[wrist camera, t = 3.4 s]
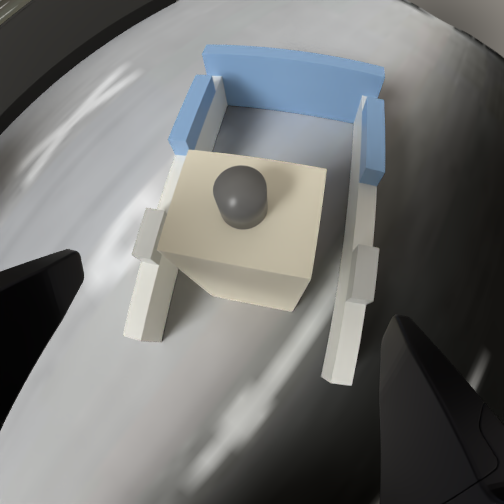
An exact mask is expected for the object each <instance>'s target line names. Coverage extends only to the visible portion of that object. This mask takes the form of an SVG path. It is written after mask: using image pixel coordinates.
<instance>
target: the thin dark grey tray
mask: <svg viewBox="0 0 504 504" xmlns="http://www.w3.org/2000/svg"><path fill="white" fill-rule="evenodd" d="M175 2H176V0H32V1H30V2H29V3H28V4H26V5H25V6H24V7H22V8H21V9H20V10H18V11H17V12H16V13H15V14H13V15H12V16H11V17H10V18H8V19H7V20H6V21H5V22H4V23H2V24H1V25H0V135H1V134H2V133H3V131H4V130H5V129H6V128H7V127H8V126H9V125H10V124H11V123H12V122H13V121H14V120H15V119H16V118H17V117H18V116H19V115H20V114H21V113H22V112H23V111H24V110H25V109H26V108H27V107H28V106H29V105H30V104H31V103H32V102H34V101H35V100H36V99H37V98H38V97H39V96H40V95H41V94H42V93H43V92H45V91H46V90H47V89H48V88H49V87H50V86H51V85H53V84H54V83H55V82H56V81H57V80H58V79H60V78H61V77H62V76H63V75H65V74H66V73H67V72H68V71H70V70H71V69H72V68H73V67H75V66H76V65H77V64H78V63H80V62H81V61H82V60H84V59H85V58H86V57H88V56H89V55H91V54H92V53H93V52H95V51H96V50H97V49H99V48H100V47H102V46H103V45H105V44H106V43H108V42H109V41H111V40H112V39H114V38H115V37H117V36H118V35H120V34H121V33H123V32H124V31H126V30H127V29H129V28H131V27H132V26H134V25H136V24H137V23H139V22H141V21H142V20H144V19H146V18H148V17H149V16H151V15H153V14H155V13H156V12H158V11H160V10H162V9H164V8H166V7H168V6H169V5H171V4H173V3H175Z"/></svg>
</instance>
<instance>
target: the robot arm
mask: <svg viewBox="0 0 504 504" xmlns="http://www.w3.org/2000/svg"><path fill="white" fill-rule="evenodd" d="M83 280H84V271H83V267H82V261H81V256H80V254H79V252H77V251H74V250H70V249H66V250H63V251H60V252H56V253H53V254H50V255H47V256H44V257H41V258H38V259H35V260H32V261H29V262H26V263H24V264H21V265H18V266H15V267H12V268H9V269H6V270H4V271H1V272H0V431H1V428H2V426H3V424H4V422H5V420H6V418H7V416H8V414H9V412H10V410H11V408H12V406H13V404H14V402H15V400H16V398H17V396H18V394H19V393H20V391H21V389H22V387H23V385H24V383H25V382H26V380H27V378H28V376H29V374H30V373H31V371H32V369H33V367H34V366H35V364H36V362H37V361H38V359H39V357H40V355H41V354H42V352H43V350H44V349H45V347H46V346H47V344H48V342H49V341H50V339H51V337H52V336H53V334H54V333H55V331H56V329H57V328H58V326H59V325H60V323H61V321H62V320H63V318H64V316H65V314H66V312H67V310H68V309H69V307H70V305H71V303H72V301H73V299H74V297H75V295H76V294H77V292H78V290H79V288H80V286H81V285H82V283H83ZM379 405H380V432H381V482H380V504H504V425H503V424H502V423H501V422H500V421H499V419H498V418H497V417H496V416H495V415H494V413H493V412H492V411H491V410H490V408H489V407H488V406H487V405H486V404H485V403H484V404H483V400H482V399H481V398H480V396H479V395H478V394H477V393H476V392H475V390H474V389H473V388H472V387H471V386H470V384H469V383H468V382H467V381H466V380H465V379H464V377H463V376H462V375H461V374H460V373H459V372H458V371H457V369H456V368H455V367H454V366H453V365H452V364H451V363H450V361H449V360H448V359H447V358H446V357H445V356H444V355H443V354H442V352H441V351H440V350H439V349H438V348H437V347H436V346H435V345H434V344H433V342H432V341H431V340H430V339H429V338H428V337H427V336H426V335H425V334H424V333H423V331H422V330H421V329H420V328H419V327H418V326H417V325H416V324H415V323H414V322H413V321H412V320H411V319H410V318H409V317H408V316H402V315H394V316H393V317H392V319H391V321H390V323H389V325H388V327H387V330H386V332H385V334H384V336H383V339H382V343H381V366H380V386H379Z"/></svg>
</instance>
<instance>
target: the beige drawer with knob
mask: <svg viewBox="0 0 504 504" xmlns="http://www.w3.org/2000/svg"><path fill="white" fill-rule="evenodd" d="M326 172H327V169H324V168H319V167H313V166H307V165H302V164H296V163H290V162H283V161H277V160H270V159H263V158H256V157H249V156H242V155H234V154H226V153H217V152H208V151H198V150H188V152H187V155H186V158H185V161H184V164H183V167H182V170H181V173H180V176H179V179H178V182H177V185H176V188H175V191H174V194H173V197H172V200H171V203H170V206H169V210H168V213H167V216H166V219H165V223H164V226H163V229H162V233H161V236H160V240H159V243H158V247H157V251H158V252H160V253H161V254H162V255H163V256H164V257H165V258H167V259H168V260H169V261H170V262H171V263H173V264H174V265H175V266H176V267H177V268H178V269H180V270H181V271H182V272H183V273H184V274H186V275H187V276H188V277H189V278H191V279H192V280H193V281H194V282H195V283H197V284H198V285H199V286H200V287H202V288H203V289H204V290H205V291H206V292H208V293H209V294H210V295H211V296H214V297H219V298H224V299H229V300H234V301H239V302H244V303H249V304H254V305H259V306H264V307H269V308H274V309H280V310H285V311H290V312H292V311H293V310H294V308H295V306H296V305H297V303H298V301H299V299H300V298H301V296H302V294H303V292H304V291H305V289H306V287H307V285H308V284H309V282H310V280H311V276H312V270H313V264H314V258H315V251H316V245H317V238H318V232H319V225H320V218H321V211H322V203H323V196H324V188H325V180H326Z"/></svg>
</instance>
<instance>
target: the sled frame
mask: <svg viewBox="0 0 504 504" xmlns="http://www.w3.org/2000/svg"><path fill="white" fill-rule="evenodd" d="M202 56H203V60H204V64H205V68H206V72H207V75H196V76H195V78H194V80H193V82H192V85H191V87H190V89H189V91H188V93H187V96H186V98H185V100H184V102H183V105H182V107H181V109H180V112H179V114H178V116H177V119H176V121H175V124H174V126H173V128H172V131H171V133H170V136H169V138H168V141H169V143H170V145H171V147H172V149H173V151H174V153H175V157H174V160H173V163H172V166H171V169H170V171H169V174H168V177H167V180H166V183H165V186H164V189H163V192H162V195H161V198H160V201H159V204H158V207H157V209H151V208H146V210H145V213H144V216H143V219H142V222H141V225H140V229H139V232H138V235H137V239H136V242H135V245H134V249H133V252H132V256H134V257H135V258H137V259H138V260H140V261H141V264H140V268H139V271H138V275H137V279H136V283H135V287H134V291H133V295H132V299H131V303H130V307H129V311H128V315H127V320H126V324H125V328H124V333H123V336H126V337H129V338H132V339H135V340H138V341H146V342H161V341H162V336H163V332H164V327H165V323H166V319H167V314H168V310H169V306H170V302H171V297H172V293H173V289H174V285H175V281H176V277H177V273H178V268H177V267H176V266H175V265H174V264H173V263H171V262H170V261H169V260H168V259H167V258H165V257H164V256H163V255H162V254H161V253H160V252H158V251H157V247H158V243H159V240H160V236H161V233H162V229H163V226H164V223H165V219H166V216H167V213H168V210H169V206H170V203H171V200H172V197H173V194H174V191H175V188H176V185H177V182H178V179H179V176H180V173H181V170H182V167H183V164H184V161H185V158H186V155H187V152H188V150H198V151H208V152H212V151H213V147H214V144H215V141H216V138H217V135H218V132H219V129H220V126H221V123H222V120H223V117H224V114H225V111H226V108H227V105H232V106H242V107H252V108H261V109H269V110H277V111H285V112H291V113H298V114H305V115H311V116H317V117H322V118H328V119H333V120H338V121H343V122H348V123H353V143H352V159H351V172H350V184H349V195H348V206H347V215H346V225H345V233H344V242H343V250H342V257H341V265H340V272H339V279H338V286H337V292H336V298H335V305H334V311H333V317H332V322H331V328H330V334H329V339H328V344H327V350H326V355H325V360H324V365H323V370H322V374H321V377H322V378H324V379H325V380H327V381H328V382H330V383H334V384H342V385H350V386H352V381H353V376H354V372H355V367H356V361H357V356H358V351H359V345H360V339H361V333H362V327H363V321H364V315H365V308H366V304H369V303H371V302H373V301H374V293H375V285H376V277H377V267H378V257H379V248H376V247H373V239H374V226H375V212H376V195H377V185H378V184H379V182H380V180H381V179H382V177H383V175H384V173H385V112H384V100H382V99H378V96H379V93H380V90H381V87H382V84H383V81H384V79H385V73H384V67H381V66H377V65H373V64H368V63H364V62H359V61H355V60H350V59H345V58H340V57H334V56H329V55H323V54H317V53H310V52H303V51H295V50H287V49H278V48H267V47H255V46H238V45H206V47H205V49H204V51H203V53H202Z"/></svg>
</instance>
